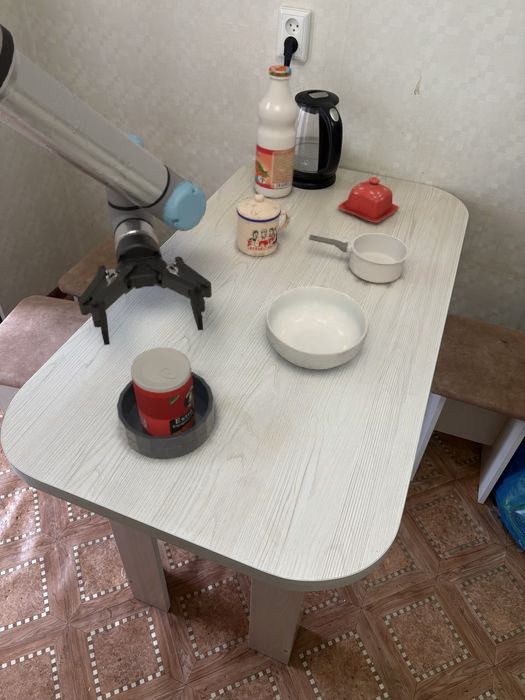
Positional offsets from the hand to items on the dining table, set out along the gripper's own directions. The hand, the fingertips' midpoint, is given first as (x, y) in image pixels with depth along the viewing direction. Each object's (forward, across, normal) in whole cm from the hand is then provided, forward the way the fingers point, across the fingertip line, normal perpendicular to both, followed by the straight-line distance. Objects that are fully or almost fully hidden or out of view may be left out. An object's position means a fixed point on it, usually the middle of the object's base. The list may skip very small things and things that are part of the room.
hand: (153, 330), depth 73 cm
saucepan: (-22, -43, -10) cm, 49 cm away
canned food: (+9, 0, -10) cm, 13 cm away
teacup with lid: (-34, -27, -10) cm, 45 cm away
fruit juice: (-58, -36, -10) cm, 70 cm away
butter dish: (-43, -56, -10) cm, 71 cm away
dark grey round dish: (+9, 0, -10) cm, 13 cm away
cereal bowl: (-1, -26, -10) cm, 28 cm away
